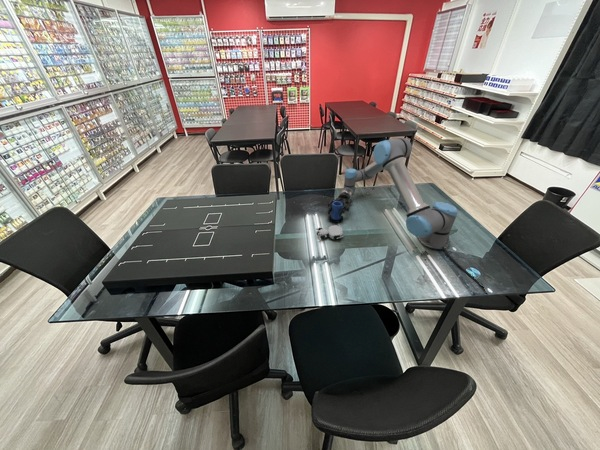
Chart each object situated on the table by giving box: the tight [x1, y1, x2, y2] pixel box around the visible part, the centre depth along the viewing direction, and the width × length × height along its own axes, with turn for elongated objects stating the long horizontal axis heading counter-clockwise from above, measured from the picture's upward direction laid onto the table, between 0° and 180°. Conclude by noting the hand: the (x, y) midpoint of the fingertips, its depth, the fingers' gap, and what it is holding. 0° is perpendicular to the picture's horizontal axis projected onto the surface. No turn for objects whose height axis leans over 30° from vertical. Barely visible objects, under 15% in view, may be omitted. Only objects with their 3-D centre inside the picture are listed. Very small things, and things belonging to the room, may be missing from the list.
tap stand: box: [328, 214, 344, 225], centre depth 156 cm, size 9×9×10 cm
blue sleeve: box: [330, 201, 343, 220], centre depth 155 cm, size 6×6×10 cm
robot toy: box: [315, 223, 344, 241], centre depth 143 cm, size 12×4×15 cm
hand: (334, 213), depth 150 cm, fingers closed on blue sleeve, 6 cm apart
